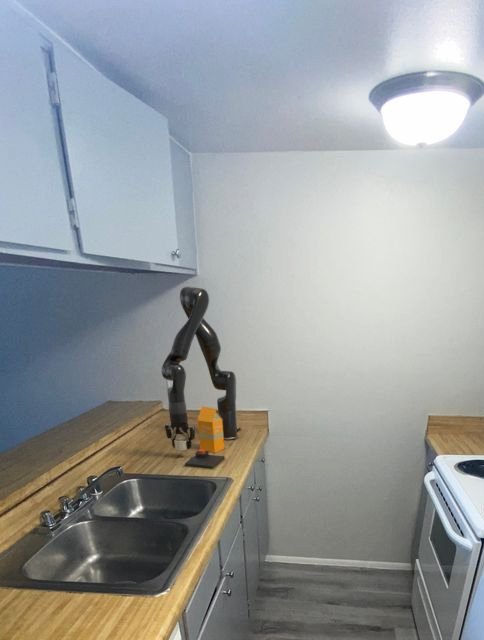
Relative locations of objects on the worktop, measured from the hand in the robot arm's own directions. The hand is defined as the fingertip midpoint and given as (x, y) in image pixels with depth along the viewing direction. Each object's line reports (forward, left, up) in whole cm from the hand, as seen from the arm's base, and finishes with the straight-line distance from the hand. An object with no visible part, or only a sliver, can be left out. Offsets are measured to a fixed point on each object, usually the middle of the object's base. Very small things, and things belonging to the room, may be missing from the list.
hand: (182, 447), depth 216 cm
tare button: (0, +10, -2) cm, 10 cm away
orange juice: (-15, +8, -5) cm, 17 cm away
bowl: (0, 0, -1) cm, 1 cm away
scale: (+4, +13, -4) cm, 14 cm away
